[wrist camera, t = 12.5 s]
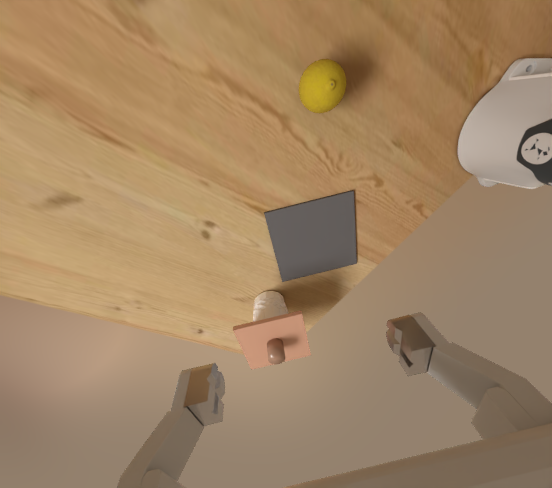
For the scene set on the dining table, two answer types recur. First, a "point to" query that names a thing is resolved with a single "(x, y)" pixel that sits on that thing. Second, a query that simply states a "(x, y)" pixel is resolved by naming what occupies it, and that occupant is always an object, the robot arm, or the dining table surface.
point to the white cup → (269, 305)
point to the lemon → (322, 86)
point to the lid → (273, 339)
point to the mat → (314, 235)
